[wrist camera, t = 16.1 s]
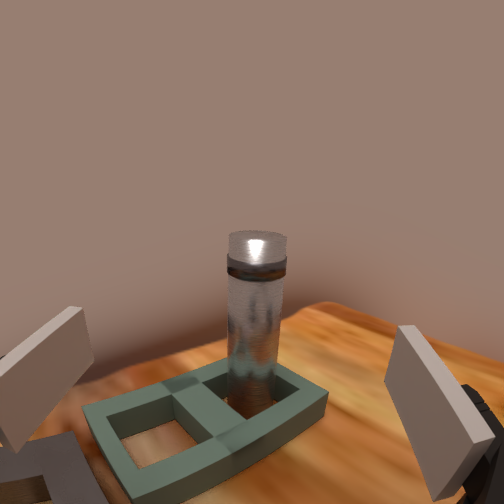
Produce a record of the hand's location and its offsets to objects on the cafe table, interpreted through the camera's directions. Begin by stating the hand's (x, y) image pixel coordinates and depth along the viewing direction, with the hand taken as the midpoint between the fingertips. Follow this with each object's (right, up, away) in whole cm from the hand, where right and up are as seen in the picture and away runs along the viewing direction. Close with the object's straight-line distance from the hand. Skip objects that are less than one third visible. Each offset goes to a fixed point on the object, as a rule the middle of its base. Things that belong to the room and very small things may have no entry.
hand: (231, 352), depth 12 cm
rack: (-3, -11, +11) cm, 16 cm away
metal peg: (+1, -11, +14) cm, 18 cm away
